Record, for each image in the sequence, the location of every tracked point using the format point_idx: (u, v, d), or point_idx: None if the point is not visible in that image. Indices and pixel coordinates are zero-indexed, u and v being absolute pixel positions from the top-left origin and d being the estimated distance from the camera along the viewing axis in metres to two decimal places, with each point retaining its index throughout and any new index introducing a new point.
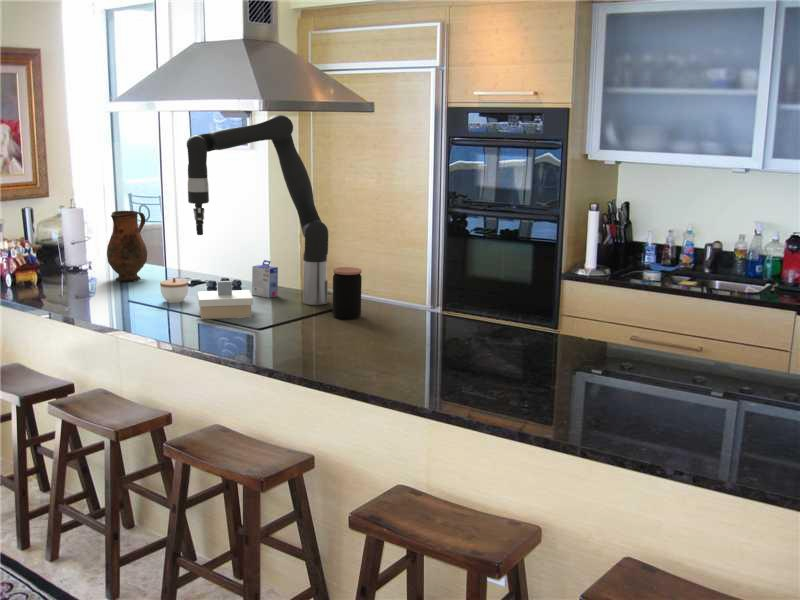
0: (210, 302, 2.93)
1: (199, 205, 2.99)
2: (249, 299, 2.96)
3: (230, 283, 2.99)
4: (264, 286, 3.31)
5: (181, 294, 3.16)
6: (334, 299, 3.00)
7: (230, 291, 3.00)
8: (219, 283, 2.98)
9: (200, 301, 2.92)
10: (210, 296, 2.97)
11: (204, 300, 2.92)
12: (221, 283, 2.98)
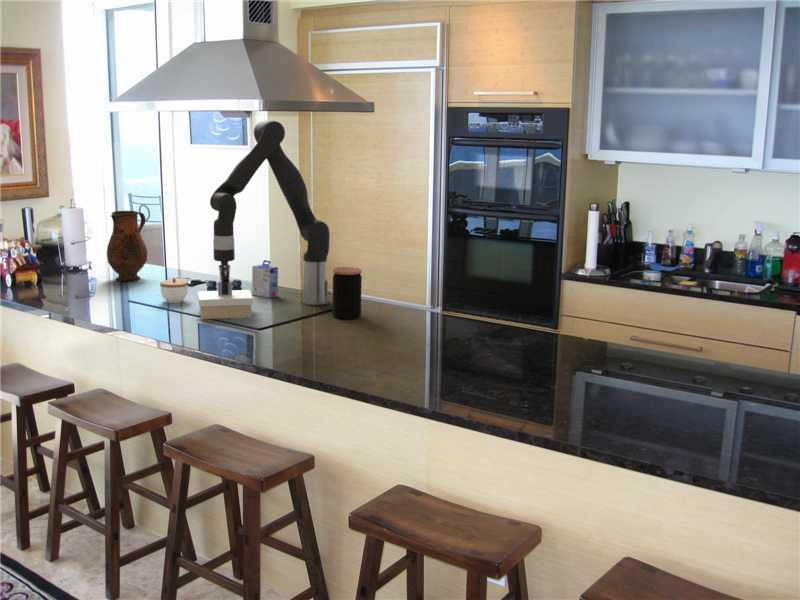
0: (210, 302, 2.93)
1: (225, 263, 2.94)
2: (249, 299, 2.96)
3: (230, 283, 2.99)
4: (264, 286, 3.31)
5: (181, 294, 3.16)
6: (334, 299, 3.00)
7: (230, 291, 3.00)
8: (219, 283, 2.98)
9: (200, 301, 2.92)
10: (210, 296, 2.97)
11: (204, 300, 2.92)
12: None
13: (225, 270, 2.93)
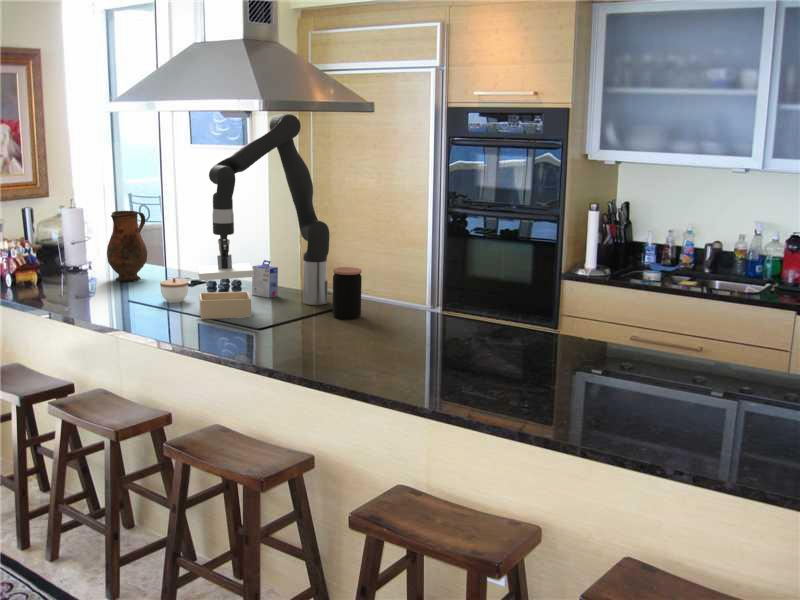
0: (210, 276, 2.91)
1: (224, 237, 2.92)
2: (249, 271, 2.94)
3: (230, 256, 2.97)
4: (264, 286, 3.31)
5: (181, 294, 3.16)
6: (334, 299, 3.00)
7: (230, 264, 2.98)
8: (219, 256, 2.96)
9: (200, 275, 2.90)
10: (210, 270, 2.95)
11: (204, 274, 2.90)
12: None
13: (224, 244, 2.91)
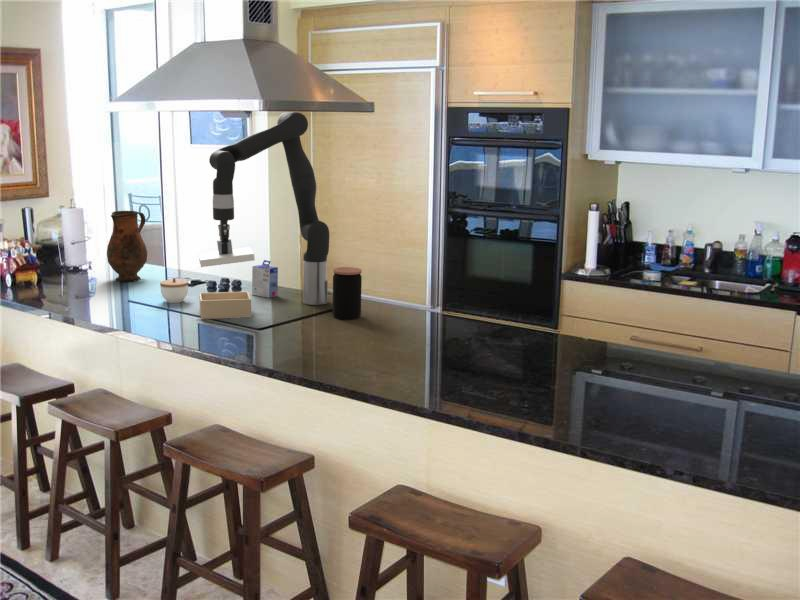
0: (211, 262, 2.91)
1: (225, 222, 2.92)
2: (250, 255, 2.94)
3: (230, 241, 2.97)
4: (264, 286, 3.31)
5: (181, 294, 3.16)
6: (334, 299, 3.00)
7: (230, 249, 2.98)
8: (219, 242, 2.96)
9: (201, 261, 2.90)
10: (211, 256, 2.95)
11: (205, 260, 2.90)
12: None
13: (225, 229, 2.91)
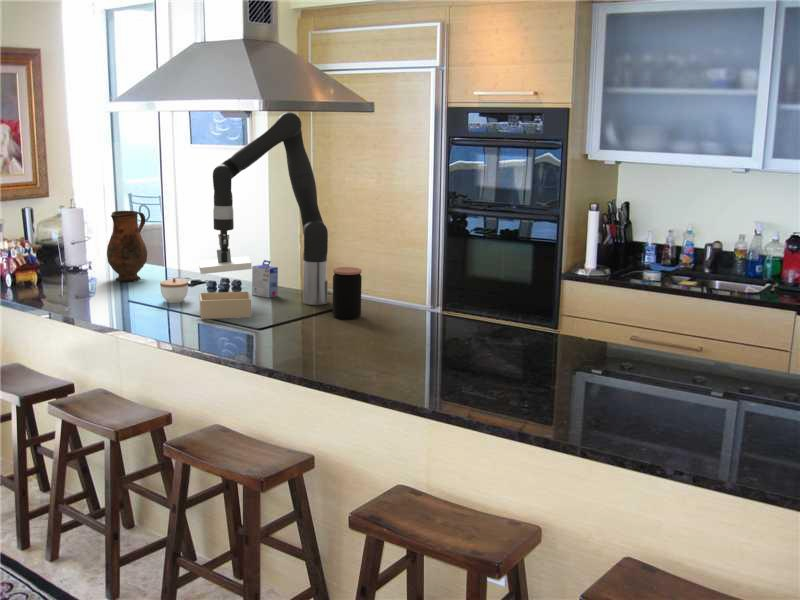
0: (210, 269, 3.07)
1: (224, 232, 3.09)
2: (248, 264, 3.11)
3: (228, 250, 3.14)
4: (264, 286, 3.31)
5: (181, 294, 3.16)
6: (334, 299, 3.00)
7: (229, 258, 3.15)
8: (218, 251, 3.13)
9: (201, 269, 3.06)
10: (210, 264, 3.12)
11: (205, 267, 3.07)
12: (220, 251, 3.13)
13: (224, 238, 3.08)
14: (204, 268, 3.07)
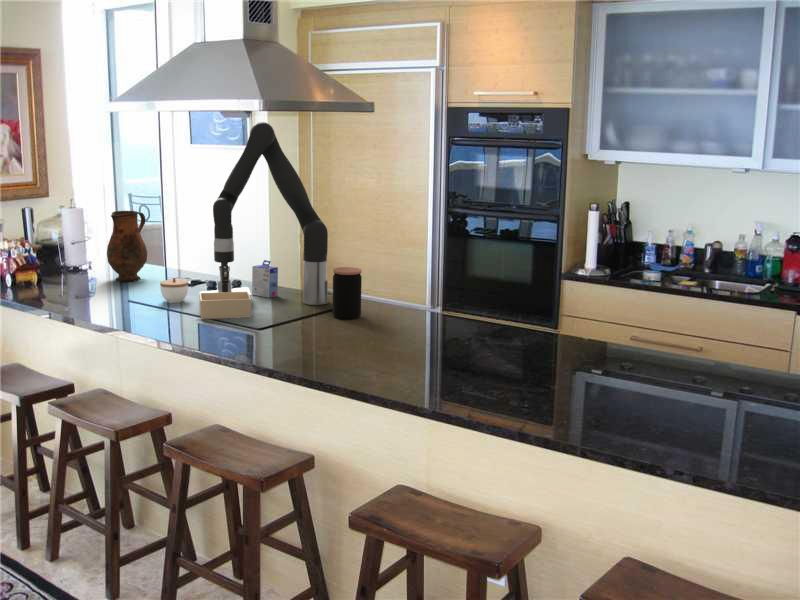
0: None
1: (225, 264, 3.12)
2: None
3: (229, 282, 3.17)
4: (264, 286, 3.31)
5: (181, 294, 3.16)
6: (334, 299, 3.00)
7: (230, 289, 3.17)
8: (219, 282, 3.16)
9: None
10: None
11: None
12: None
13: (225, 271, 3.11)
14: None
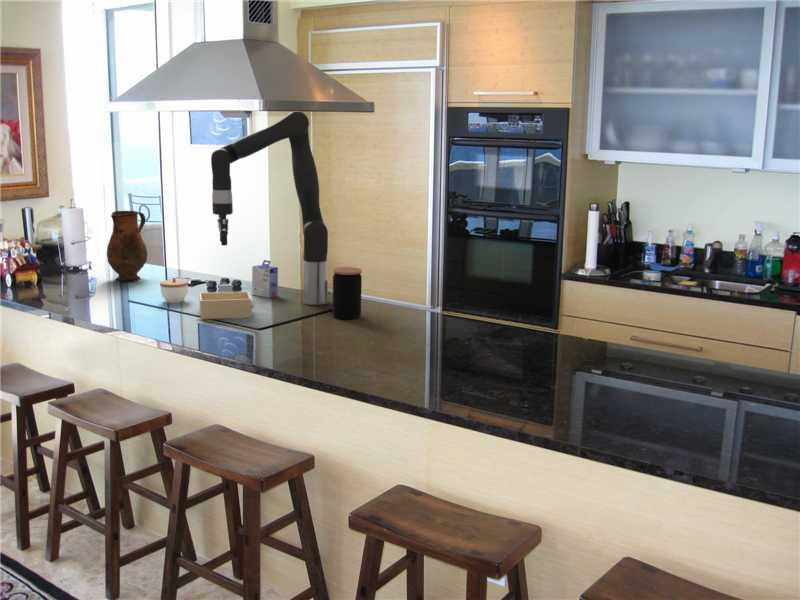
0: None
1: (223, 216, 3.08)
2: None
3: (230, 286, 3.17)
4: (264, 286, 3.31)
5: (181, 294, 3.16)
6: (334, 299, 3.00)
7: None
8: (220, 286, 3.16)
9: None
10: None
11: None
12: (222, 286, 3.16)
13: (223, 218, 3.06)
14: None
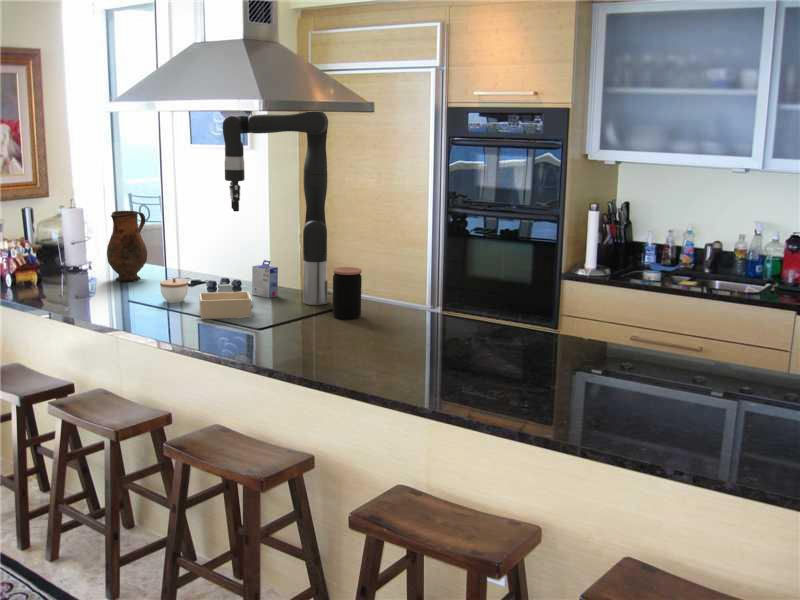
0: None
1: (236, 182, 3.12)
2: None
3: (230, 286, 3.17)
4: (264, 286, 3.31)
5: (181, 294, 3.16)
6: (334, 299, 3.00)
7: None
8: (220, 286, 3.16)
9: None
10: None
11: None
12: (222, 286, 3.16)
13: (236, 185, 3.10)
14: None
